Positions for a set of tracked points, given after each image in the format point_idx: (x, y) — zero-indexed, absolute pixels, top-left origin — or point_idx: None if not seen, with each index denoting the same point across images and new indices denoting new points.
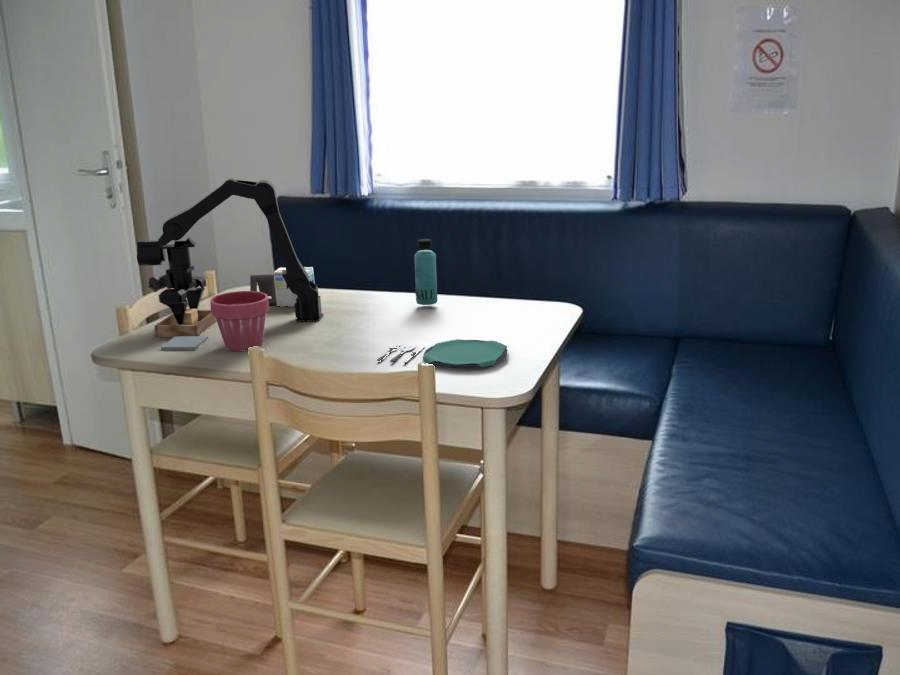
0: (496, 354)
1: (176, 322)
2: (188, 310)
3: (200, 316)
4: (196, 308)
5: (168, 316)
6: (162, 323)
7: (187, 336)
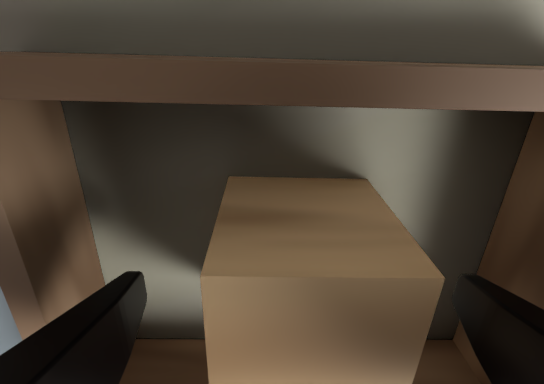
0: None
1: (220, 215)
2: (331, 380)
3: (504, 285)
4: (488, 374)
5: (388, 70)
6: (98, 100)
7: (15, 337)
